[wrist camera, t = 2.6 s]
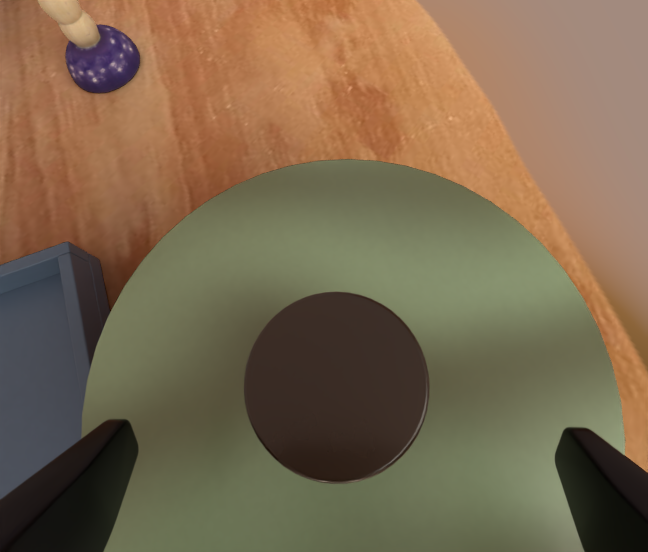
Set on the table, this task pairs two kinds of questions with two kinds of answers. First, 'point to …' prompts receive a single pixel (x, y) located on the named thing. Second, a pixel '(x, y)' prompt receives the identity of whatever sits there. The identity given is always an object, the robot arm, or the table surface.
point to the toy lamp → (93, 48)
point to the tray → (46, 355)
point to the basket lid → (349, 372)
